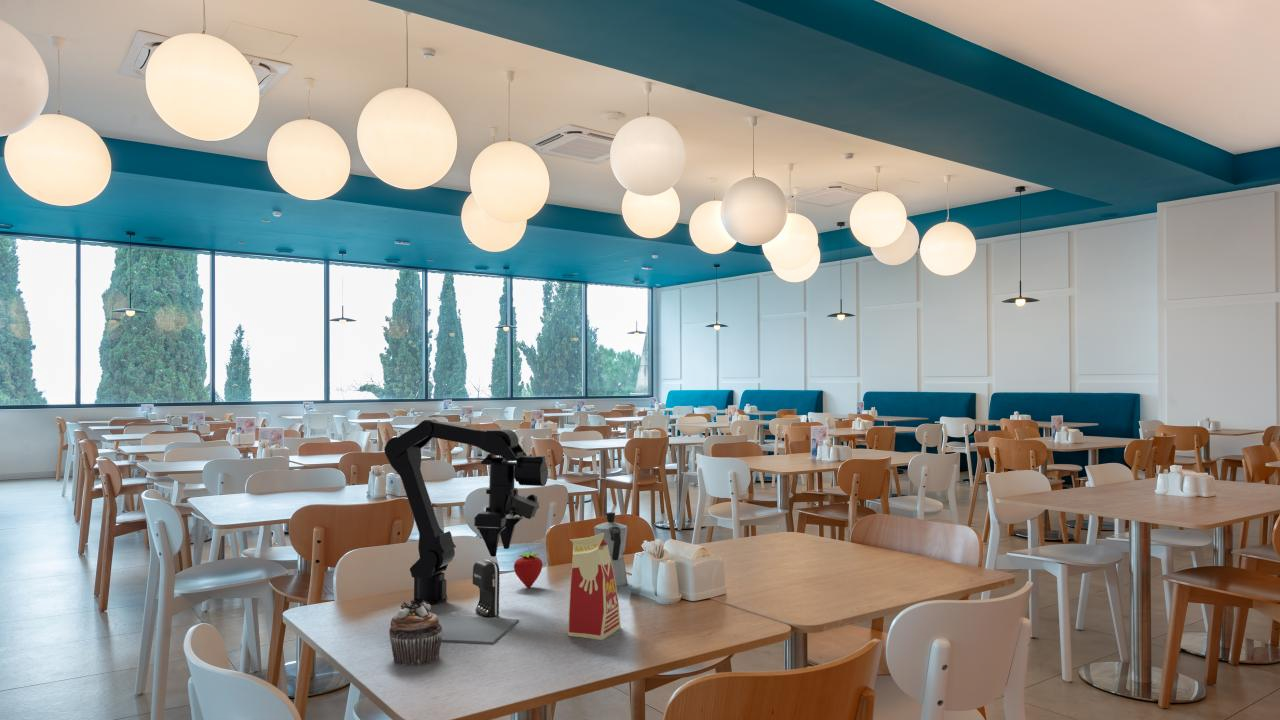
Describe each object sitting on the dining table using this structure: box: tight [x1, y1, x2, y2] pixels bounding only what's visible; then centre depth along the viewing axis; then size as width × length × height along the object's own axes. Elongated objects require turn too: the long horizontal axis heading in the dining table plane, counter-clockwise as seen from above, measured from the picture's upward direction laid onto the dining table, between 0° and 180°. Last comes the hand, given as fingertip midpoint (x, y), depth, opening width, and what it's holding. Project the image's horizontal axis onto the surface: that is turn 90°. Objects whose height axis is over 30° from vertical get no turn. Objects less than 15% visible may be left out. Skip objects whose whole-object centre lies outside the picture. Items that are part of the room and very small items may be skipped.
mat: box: [437, 615, 520, 645], centre depth 165 cm, size 18×16×1 cm
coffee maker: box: [593, 511, 629, 588], centre depth 204 cm, size 15×9×18 cm, turn 14°
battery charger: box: [472, 559, 500, 618], centre depth 177 cm, size 7×4×11 cm, turn 36°
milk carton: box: [567, 533, 622, 641], centre depth 164 cm, size 9×9×20 cm
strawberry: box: [513, 546, 544, 588], centre depth 201 cm, size 6×8×10 cm
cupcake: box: [388, 600, 444, 666], centre depth 148 cm, size 10×10×10 cm
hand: (500, 552), depth 185 cm, fingers open, 9 cm apart
